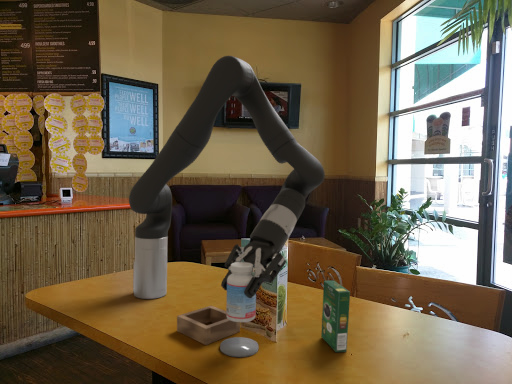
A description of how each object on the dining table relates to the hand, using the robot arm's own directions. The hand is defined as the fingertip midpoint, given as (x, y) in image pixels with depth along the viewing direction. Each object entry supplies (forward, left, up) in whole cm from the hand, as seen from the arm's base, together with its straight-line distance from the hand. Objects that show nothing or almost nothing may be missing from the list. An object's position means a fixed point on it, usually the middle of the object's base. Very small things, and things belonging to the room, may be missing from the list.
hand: (235, 291), depth 79 cm
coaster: (0, +2, -12) cm, 12 cm away
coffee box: (+13, +18, -12) cm, 25 cm away
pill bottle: (0, +2, -6) cm, 6 cm away
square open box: (-11, +3, -12) cm, 17 cm away
